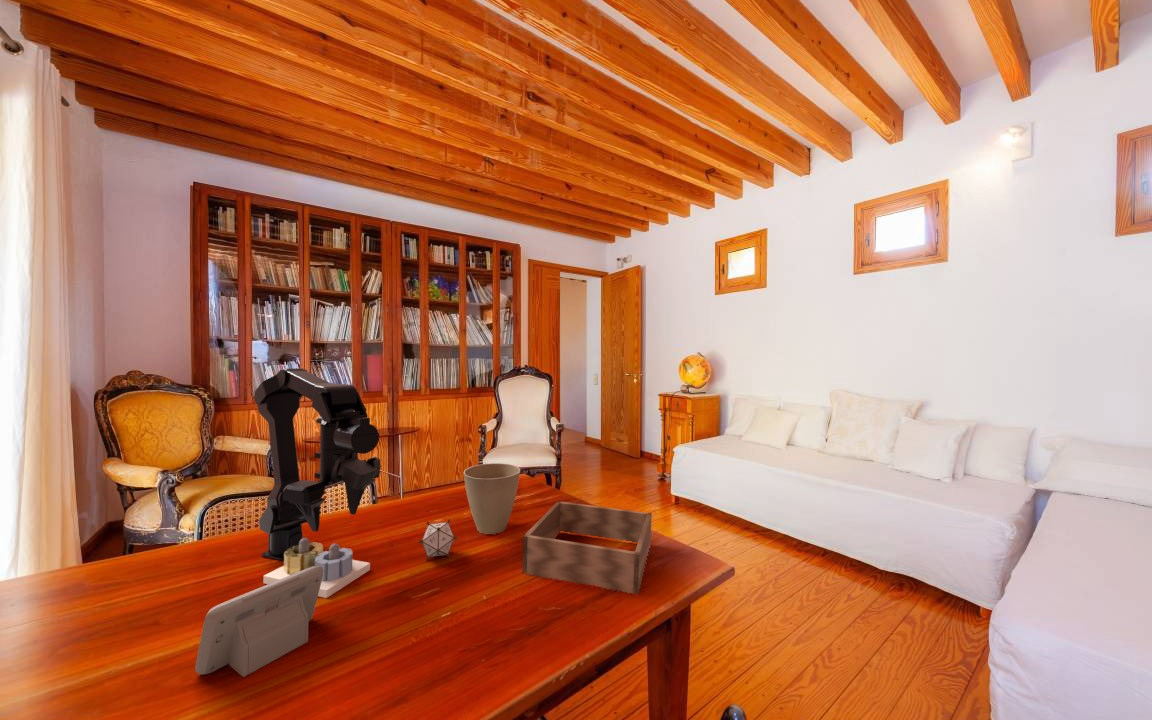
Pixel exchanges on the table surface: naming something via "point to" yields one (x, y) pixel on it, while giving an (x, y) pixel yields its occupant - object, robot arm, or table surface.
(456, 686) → the table surface
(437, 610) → the table surface
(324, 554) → the slate gear
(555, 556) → the open rectangular box frame
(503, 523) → the plant pot
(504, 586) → the table surface
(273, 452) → the robot arm
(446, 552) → the game die
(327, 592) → the gear board
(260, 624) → the digital clock
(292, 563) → the brass gear
